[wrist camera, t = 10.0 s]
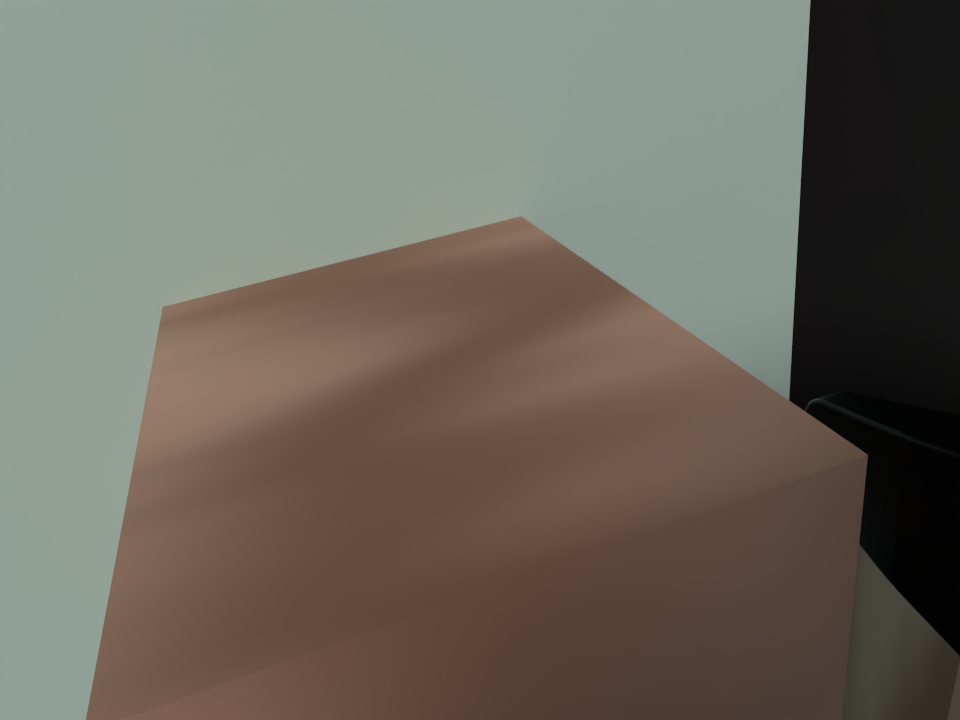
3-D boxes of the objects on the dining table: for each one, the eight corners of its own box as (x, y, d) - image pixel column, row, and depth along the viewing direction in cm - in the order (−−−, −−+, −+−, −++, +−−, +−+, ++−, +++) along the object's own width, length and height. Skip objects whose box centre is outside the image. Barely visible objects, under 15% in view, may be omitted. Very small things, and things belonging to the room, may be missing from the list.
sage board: (786, -194, 9) (821, -206, 9) (758, 589, 15) (777, 610, 15) (-500, -29, 7) (-562, -33, 6) (78, 844, 13) (72, 879, 12)
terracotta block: (521, 216, 10) (866, 454, 5) (562, 518, 12) (823, 904, 7) (162, 306, 9) (82, 734, 4) (281, 614, 11) (336, 1144, 6)
